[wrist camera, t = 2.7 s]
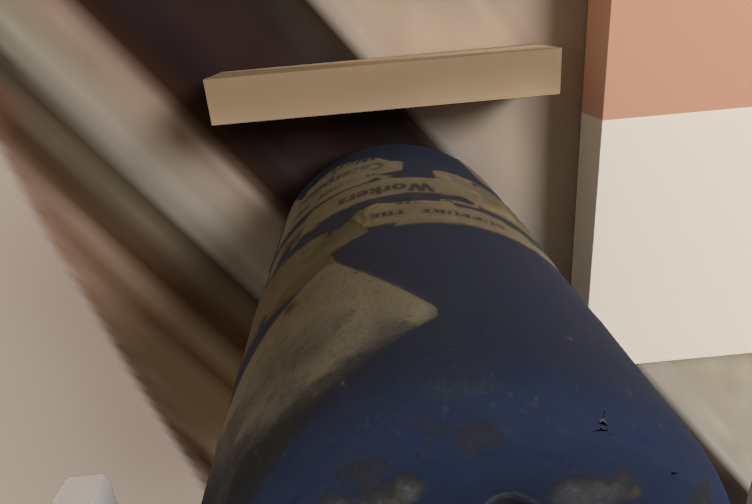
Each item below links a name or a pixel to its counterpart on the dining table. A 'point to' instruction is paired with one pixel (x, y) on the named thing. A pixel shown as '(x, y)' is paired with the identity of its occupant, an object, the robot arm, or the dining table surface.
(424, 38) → the dining table surface
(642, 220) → the board
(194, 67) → the dining table surface
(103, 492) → the robot arm
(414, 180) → the canister
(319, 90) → the rails
